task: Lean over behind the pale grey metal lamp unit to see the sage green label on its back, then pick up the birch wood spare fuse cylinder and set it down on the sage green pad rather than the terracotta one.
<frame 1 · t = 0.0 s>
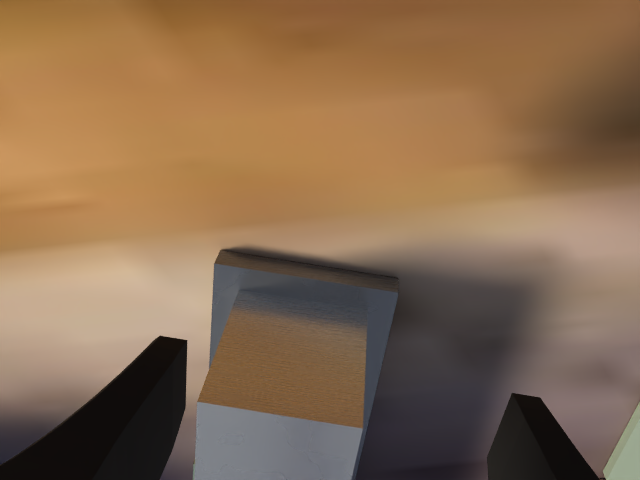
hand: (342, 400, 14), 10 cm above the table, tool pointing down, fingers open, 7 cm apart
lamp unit: (288, 412, 28), on the table
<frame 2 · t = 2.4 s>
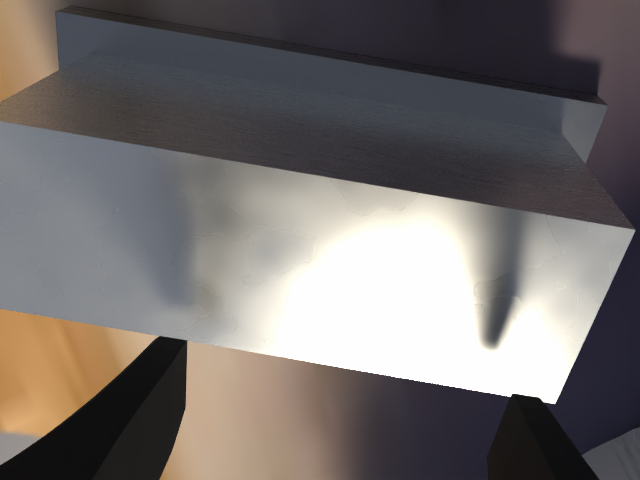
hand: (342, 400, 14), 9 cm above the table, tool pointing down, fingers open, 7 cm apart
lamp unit: (317, 158, 20), on the table
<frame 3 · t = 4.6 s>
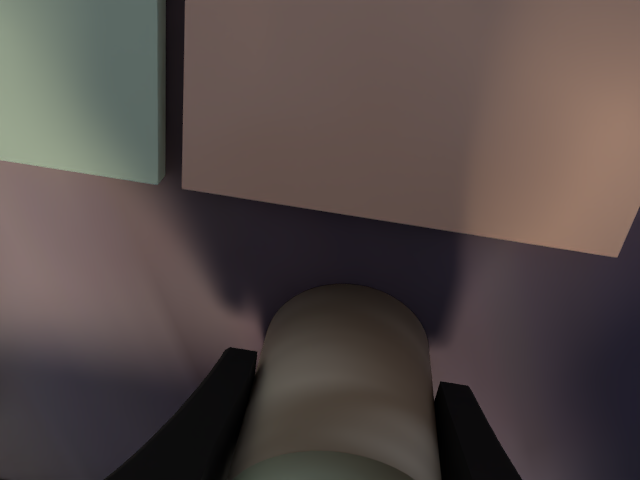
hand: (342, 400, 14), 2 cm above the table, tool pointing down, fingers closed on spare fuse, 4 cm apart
spare fuse: (346, 352, 15), on the table, touching gripper
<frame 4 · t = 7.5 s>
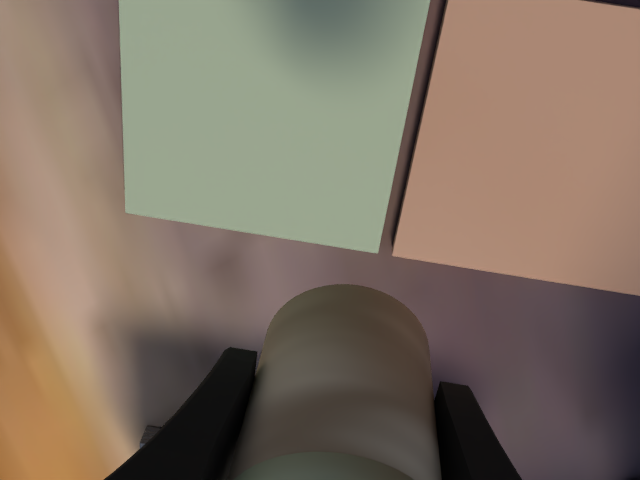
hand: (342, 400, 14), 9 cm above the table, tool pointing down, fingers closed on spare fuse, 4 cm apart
terracotta pad: (557, 150, 20), on the table
spare fuse: (346, 352, 15), point 7 cm above the table, touching gripper
sage pad: (264, 104, 20), on the table
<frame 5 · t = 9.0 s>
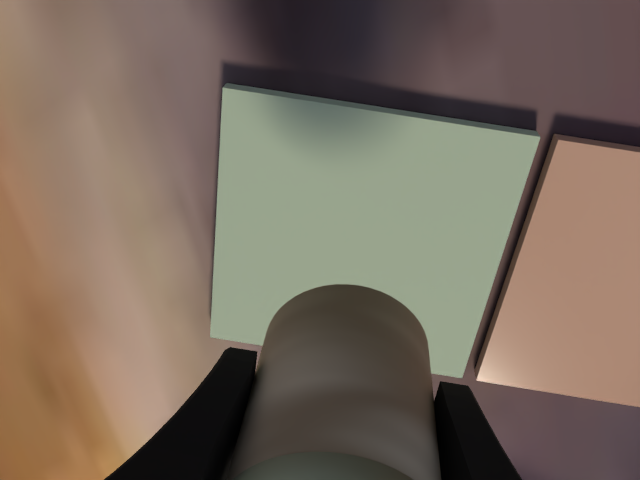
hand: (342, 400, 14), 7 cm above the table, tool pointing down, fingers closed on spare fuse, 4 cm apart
spare fuse: (345, 352, 15), point 6 cm above the table, touching gripper
sage pad: (356, 241, 20), on the table
when the fingers open (3 cm above the table, at t = 10.3 s): spare fuse stays where it is, resting on sage pad.
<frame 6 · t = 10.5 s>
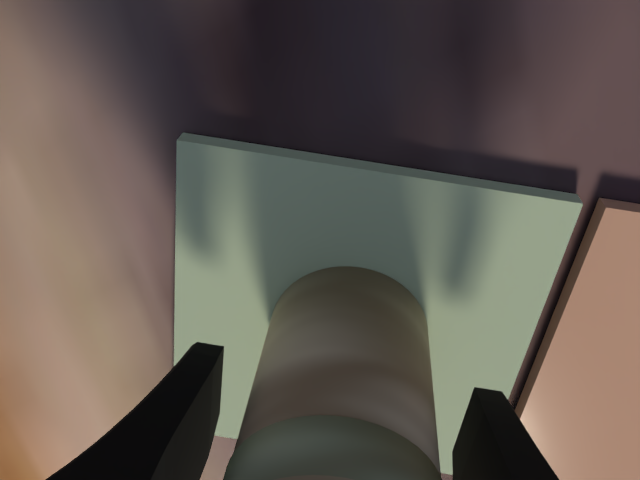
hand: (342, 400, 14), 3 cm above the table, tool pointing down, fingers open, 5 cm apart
spare fuse: (348, 333, 16), point 1 cm above the table, touching sage pad
sage pad: (348, 320, 16), on the table
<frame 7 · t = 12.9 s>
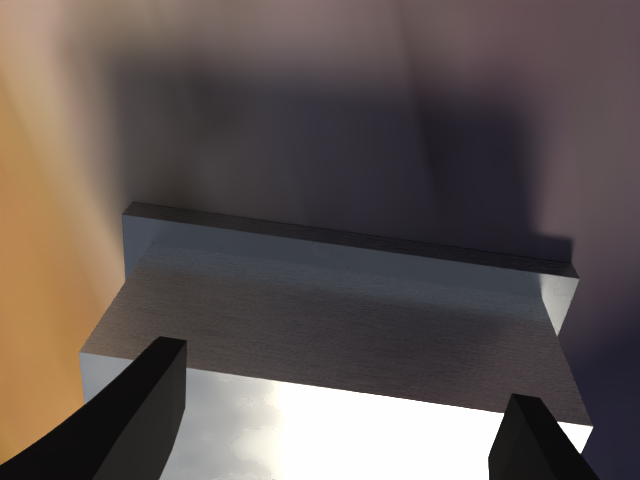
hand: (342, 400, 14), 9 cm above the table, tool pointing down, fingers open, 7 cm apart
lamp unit: (338, 310, 24), on the table
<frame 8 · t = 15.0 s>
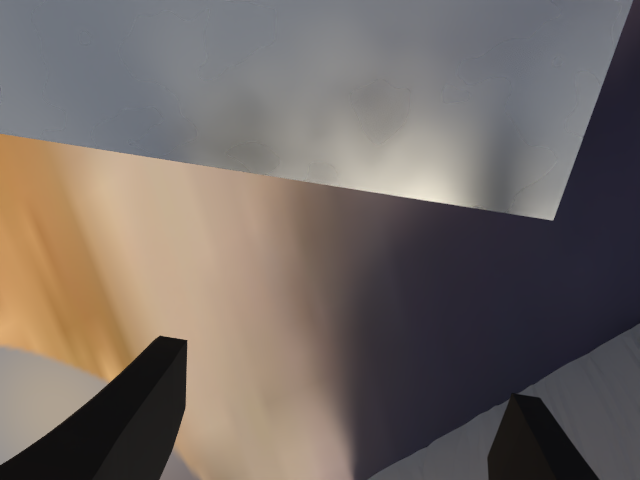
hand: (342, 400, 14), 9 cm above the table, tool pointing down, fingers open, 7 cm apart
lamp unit: (294, 5, 19), on the table
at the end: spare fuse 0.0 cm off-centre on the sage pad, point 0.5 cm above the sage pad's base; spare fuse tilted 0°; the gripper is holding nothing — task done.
